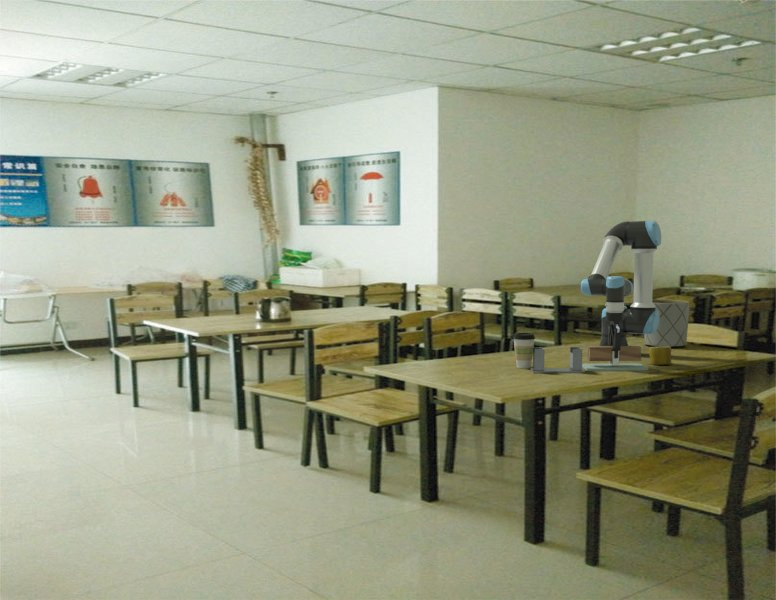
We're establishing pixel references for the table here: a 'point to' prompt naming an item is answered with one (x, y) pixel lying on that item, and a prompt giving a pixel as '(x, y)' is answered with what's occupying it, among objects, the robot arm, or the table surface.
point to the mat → (614, 367)
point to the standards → (574, 368)
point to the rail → (606, 353)
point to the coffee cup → (523, 349)
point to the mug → (660, 355)
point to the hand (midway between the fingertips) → (614, 364)
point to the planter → (670, 323)
